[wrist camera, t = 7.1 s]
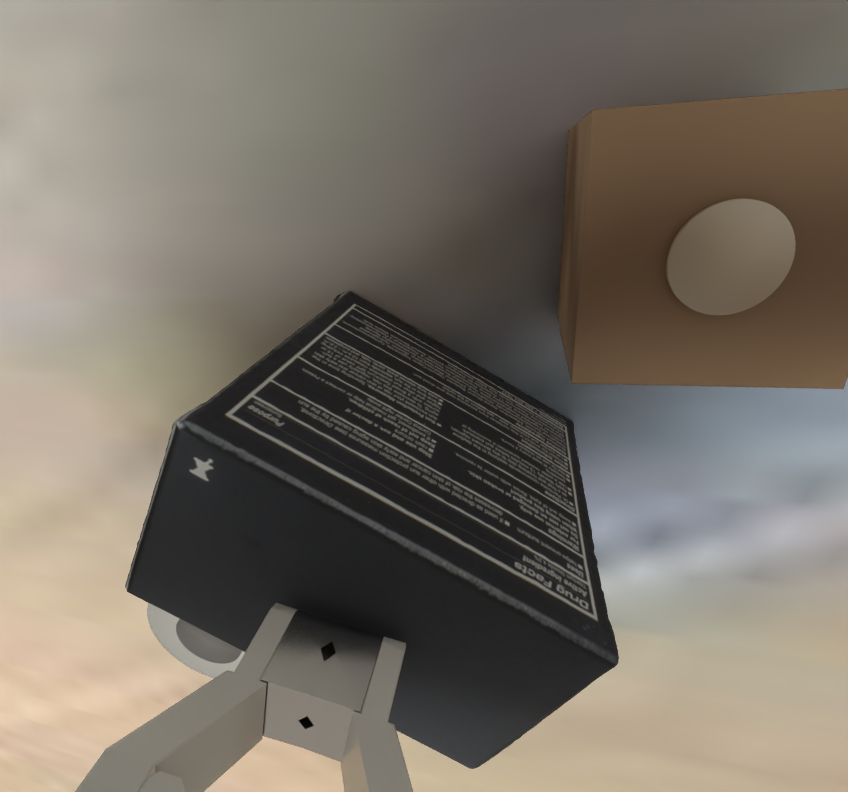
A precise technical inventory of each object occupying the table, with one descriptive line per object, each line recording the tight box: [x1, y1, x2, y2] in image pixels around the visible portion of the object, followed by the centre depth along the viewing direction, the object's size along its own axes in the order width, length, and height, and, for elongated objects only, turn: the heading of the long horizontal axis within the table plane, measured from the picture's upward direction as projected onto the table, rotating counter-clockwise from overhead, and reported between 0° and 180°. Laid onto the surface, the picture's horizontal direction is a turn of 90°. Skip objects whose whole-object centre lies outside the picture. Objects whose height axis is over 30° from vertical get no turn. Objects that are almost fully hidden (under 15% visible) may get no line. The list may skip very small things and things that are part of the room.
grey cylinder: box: [147, 603, 245, 678], centre depth 22 cm, size 6×6×6 cm
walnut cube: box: [557, 89, 848, 389], centre depth 13 cm, size 6×6×6 cm
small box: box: [125, 291, 619, 769], centre depth 16 cm, size 11×6×10 cm, turn 62°
